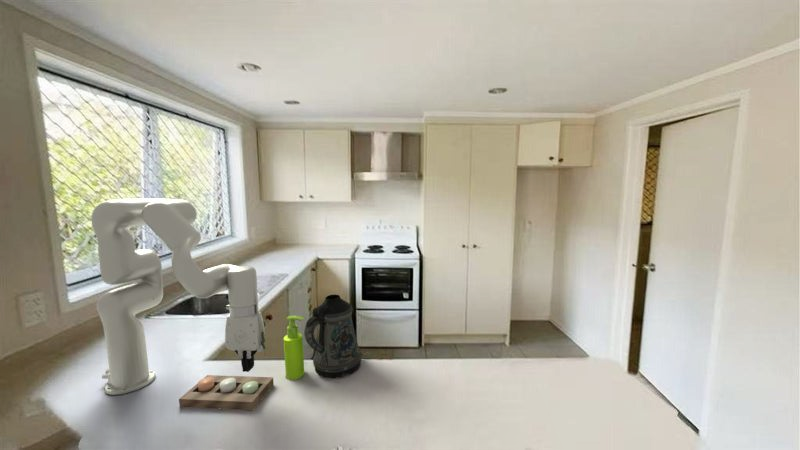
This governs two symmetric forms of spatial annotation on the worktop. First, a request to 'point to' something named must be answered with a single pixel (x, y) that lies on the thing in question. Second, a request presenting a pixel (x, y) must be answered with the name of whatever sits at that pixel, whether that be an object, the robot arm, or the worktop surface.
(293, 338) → the soap dispenser
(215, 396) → the button panel
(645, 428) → the worktop surface
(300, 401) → the worktop surface
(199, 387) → the button terracotta
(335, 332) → the beer stein
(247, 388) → the button sage
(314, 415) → the worktop surface
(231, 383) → the white dome
